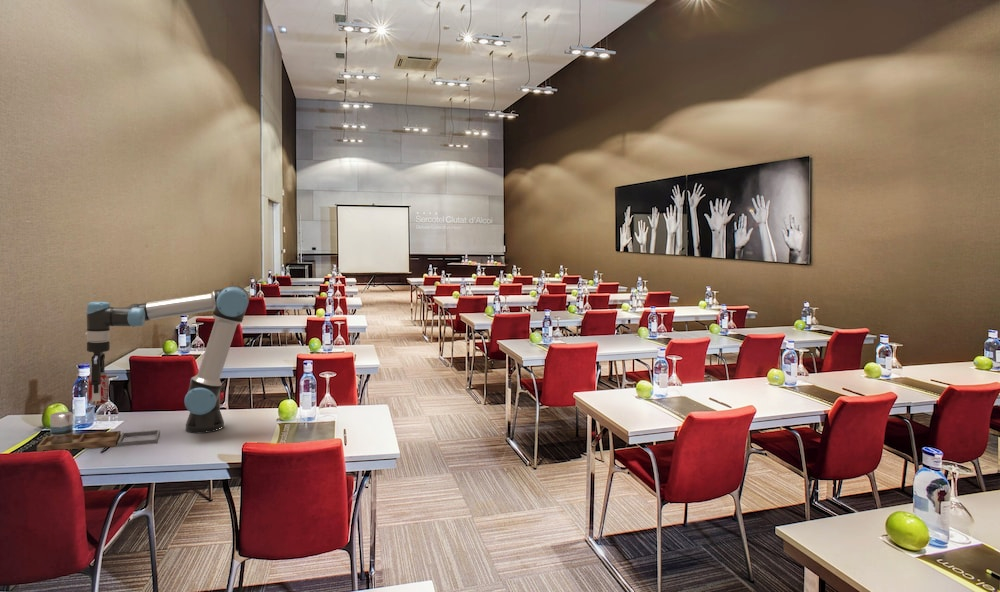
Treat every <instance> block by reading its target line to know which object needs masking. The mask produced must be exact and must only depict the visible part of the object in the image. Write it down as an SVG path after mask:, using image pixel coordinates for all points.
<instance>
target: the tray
mask: <svg viewBox="0 0 1000 592" xmlns="http://www.w3.org/2000/svg"><path fill="white" fill-rule="evenodd" d="M160 435H161V431H160V429H158V430H157V429H156V430H155V429H154V430H146V431H145V430H142V431H131V432H121V436H120V438H119V440H118V443H117V445H116V447H126V446H138V445H150V444H158V441H159V438H160ZM141 436H155V438H152V439H141V440H140V439H139V440H129V441H128V440H127V441H126V440H125V441H123V440H124V438H126V437H141Z"/></svg>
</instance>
